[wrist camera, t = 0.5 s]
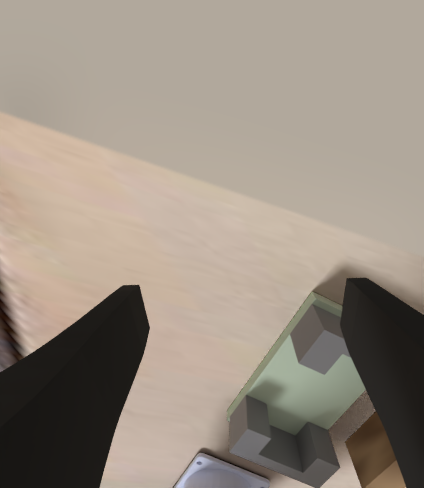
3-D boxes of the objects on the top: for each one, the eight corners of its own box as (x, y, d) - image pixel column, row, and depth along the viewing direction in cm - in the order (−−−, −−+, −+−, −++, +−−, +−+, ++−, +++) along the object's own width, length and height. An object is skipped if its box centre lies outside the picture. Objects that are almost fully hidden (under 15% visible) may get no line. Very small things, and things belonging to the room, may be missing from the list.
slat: (367, 450, 27) (388, 500, 23) (344, 440, 26) (362, 489, 23) (442, 378, 23) (483, 424, 19) (417, 366, 23) (453, 410, 19)
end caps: (308, 450, 25) (318, 488, 23) (229, 417, 25) (229, 452, 22) (404, 347, 21) (431, 380, 18) (311, 303, 20) (324, 329, 18)
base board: (303, 442, 27) (305, 453, 26) (227, 410, 26) (226, 420, 25) (401, 334, 22) (409, 343, 21) (311, 291, 21) (315, 298, 20)
